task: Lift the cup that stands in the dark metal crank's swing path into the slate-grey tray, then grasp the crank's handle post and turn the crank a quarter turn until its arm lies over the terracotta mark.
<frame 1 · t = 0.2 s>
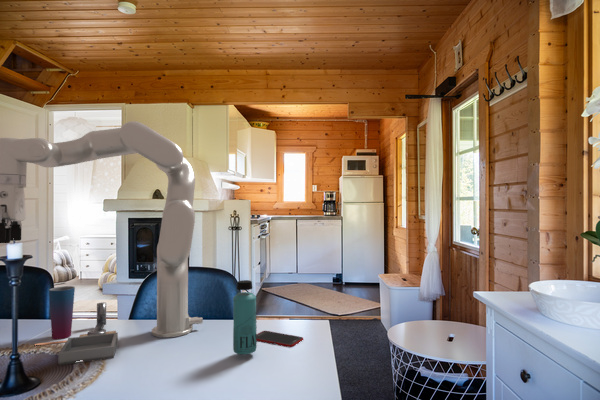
hand: (8, 241, 108), 30 cm above the table, tool pointing down, fingers open, 9 cm apart
beverage bottle: (244, 356, 102), on the table
crank base: (96, 338, 116), on the table
tray: (90, 353, 104), on the table
cell phone: (277, 341, 115), on the table
crank: (99, 319, 122), point 4 cm above the table, hinge at -90.0°
cup: (61, 337, 118), on the table
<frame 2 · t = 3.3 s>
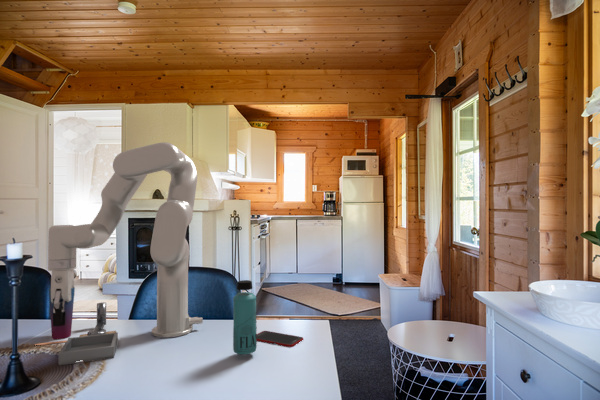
hand: (61, 321, 118), 5 cm above the table, tool pointing down, fingers closed on cup, 6 cm apart
cup: (61, 337, 118), on the table, touching gripper
everything else where it was.
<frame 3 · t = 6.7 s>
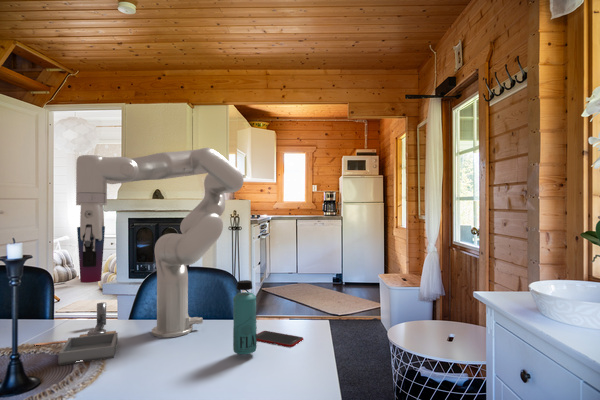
hand: (91, 264, 105), 24 cm above the table, tool pointing down, fingers closed on cup, 6 cm apart
cup: (91, 281, 105), point 20 cm above the table, touching gripper
everything else where it was.
when the fingers open (7 cm above the table, at t = 10.4 s): cup drops 2 cm, resting on tray.
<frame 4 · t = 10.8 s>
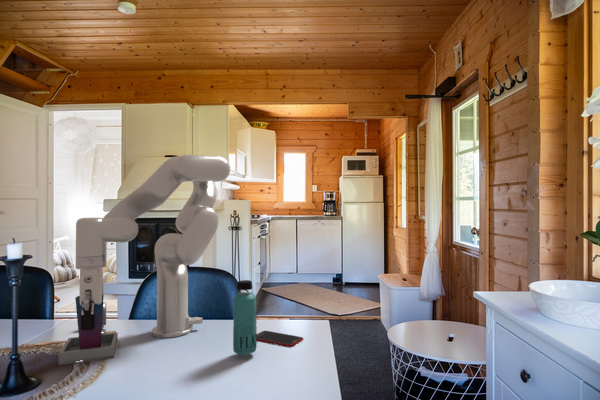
hand: (90, 324, 105), 8 cm above the table, tool pointing down, fingers open, 9 cm apart
cup: (90, 351, 104), resting on tray
everything else where it was.
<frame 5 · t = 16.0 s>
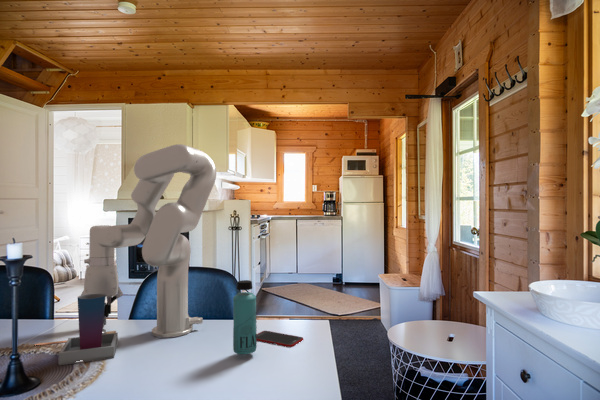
hand: (101, 316, 128), 4 cm above the table, tool pointing down, fingers closed on crank, 2 cm apart
crank: (99, 319, 122), point 4 cm above the table, hinge at -90.0°, touching gripper
everything else where it was.
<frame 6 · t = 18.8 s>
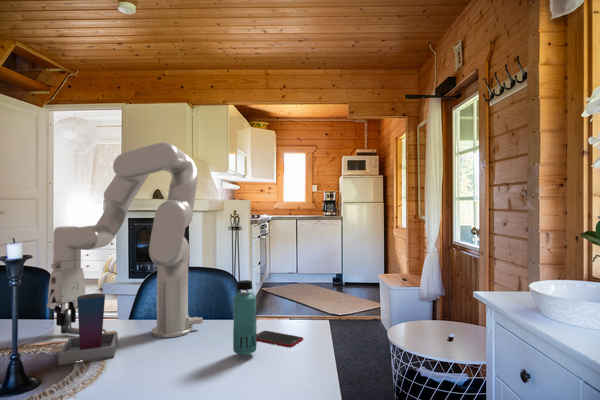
hand: (66, 323, 120), 4 cm above the table, tool pointing down, fingers closed on crank, 2 cm apart
crank: (82, 322, 118), point 4 cm above the table, hinge at -37.8°, touching gripper
everything else where it was.
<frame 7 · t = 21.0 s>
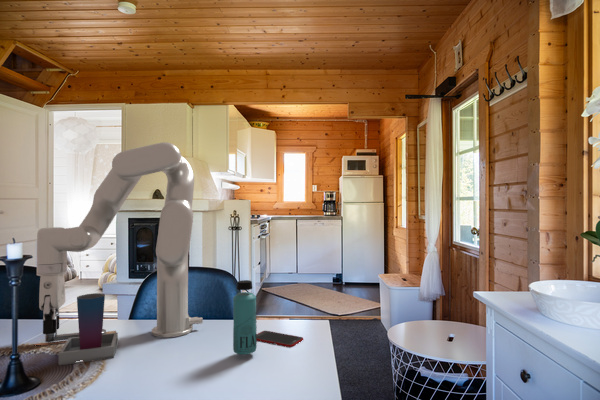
hand: (51, 330, 112), 4 cm above the table, tool pointing down, fingers open, 3 cm apart
crank: (76, 325, 115), point 4 cm above the table, hinge at -0.7°
everything else where it was.
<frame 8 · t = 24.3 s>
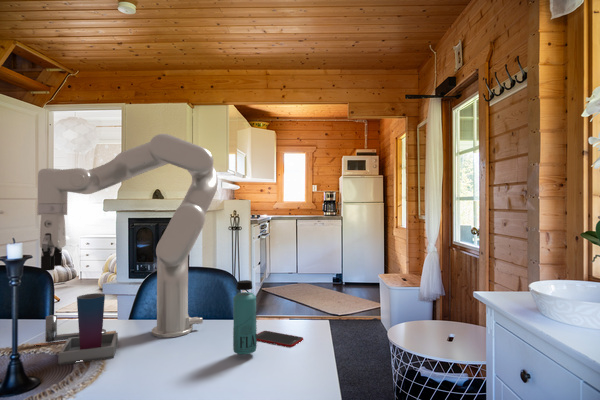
hand: (51, 267, 113), 22 cm above the table, tool pointing down, fingers open, 9 cm apart
nothing on the table moved.
at the end: cup 0.1 cm off-centre on the tray, point 0.4 cm above the tray's base; cup tilted 0°; crank at -1° (first picture: -90°) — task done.
